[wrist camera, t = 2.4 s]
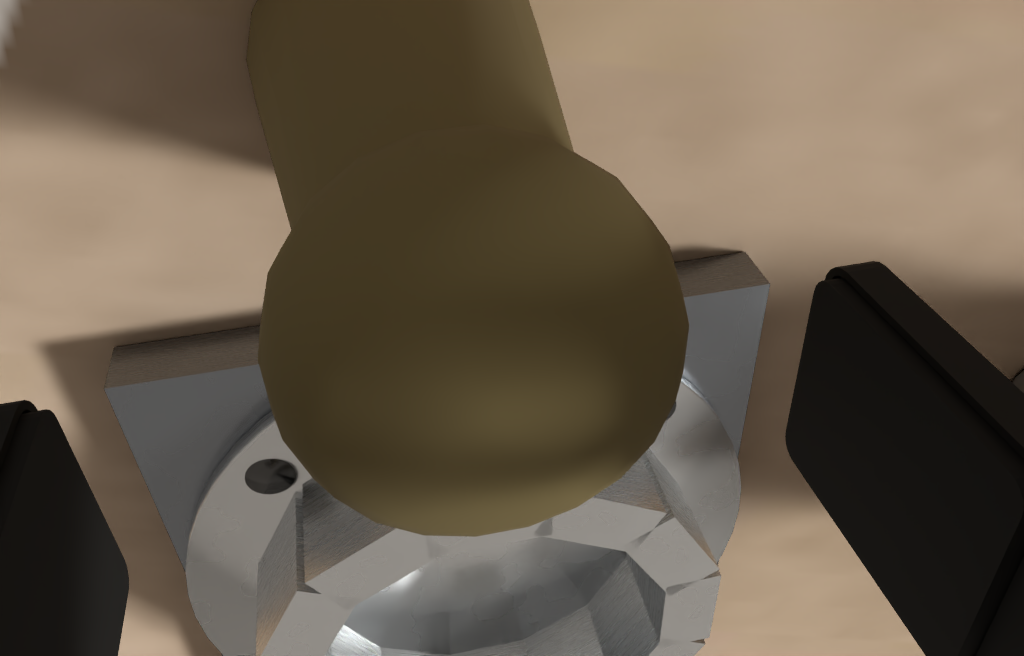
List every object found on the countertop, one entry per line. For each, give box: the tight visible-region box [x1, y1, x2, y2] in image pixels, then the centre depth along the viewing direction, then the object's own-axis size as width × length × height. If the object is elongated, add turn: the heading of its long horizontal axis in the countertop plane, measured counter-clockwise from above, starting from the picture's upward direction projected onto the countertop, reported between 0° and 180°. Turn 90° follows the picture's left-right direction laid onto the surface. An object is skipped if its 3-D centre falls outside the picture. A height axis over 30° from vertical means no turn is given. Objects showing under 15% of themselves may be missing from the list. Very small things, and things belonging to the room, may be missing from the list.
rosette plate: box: [104, 252, 770, 656], centre depth 25 cm, size 16×16×5 cm
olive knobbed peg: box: [246, 0, 689, 537], centre depth 14 cm, size 6×6×11 cm
